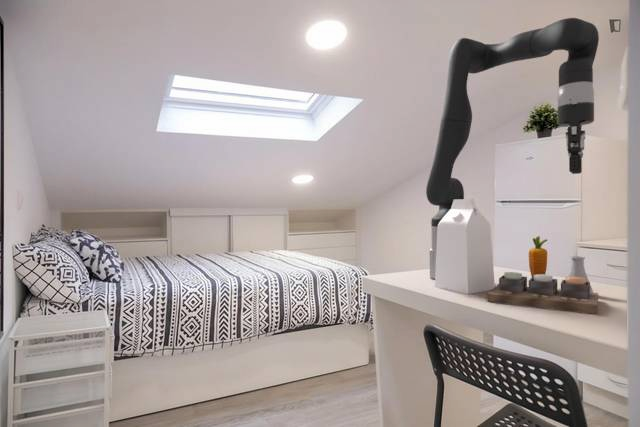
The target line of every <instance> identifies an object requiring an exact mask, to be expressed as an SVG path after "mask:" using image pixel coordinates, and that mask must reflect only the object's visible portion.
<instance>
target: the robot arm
mask: <svg viewBox="0 0 640 427" xmlns="http://www.w3.org/2000/svg"><path fill="white" fill-rule="evenodd" d="M599 37H600V36H599V32H598V28H597V26H596V25H595V24H593V23H592V22H589V21H585V20H583V19H580V18H577V17H568V18H567V17H566V18H563V19H560V20H557V21H555V22H553V23H551V24H548V25H546V26H544V27H541V28H540V27H539V28H537V29H531V30H528V31H525V32H520V33H518V34H516V35H514V36H512V37H510V38H509V39H507V40H506V41H504V42H501V43H493V44H492V43H491V44H490V43H489V44H487V43H483V42H481V41H477V40H474V39H471V38H468V37H462V38H459V39H457V40H456V42H454V44H453V45H452V48H451V50H450V53H449V58H448V64H447V65H448V68H447V80H446V90H445V95H444V96H445V97H444V104H443V109H442V114H441V119H440V124H439V131H438V137H437V143H436V149H435V154H434V158H433V162H432V166H431V170H430V172H429V177H428V180H427V184H426V188H425V189H426V191H425V194H426V199H427V200H428V202H429V204H431V205H433V206H439V207H438V212H437V213H436V214H435V215H434V216H432V217H431V220H430V222H431V223H430V224H431V248H430V249H429V279H433V280H435V272H436V248H437V227H438V224H439V222H440V221H441V220H442V218H443V217H444V216H445V215H446V214H447V213H448V211H449V210H450V209H451V206H452V203H453V200H454V199H465V193H464V192H465V190H464V185H463V184H462V182H461V181H460V180H459V179H458V178H456V177H452V174H453V168H454V166H455V163H456V160H457V159H458V157H459V155H460V153H461V152H462V151H463V149H464V148H465V145H466V144H467V142H468V139H469V137H470V132H471V129H472V123H473V111H472V107H471V101H470V99H469V94H468V86H467V85H468V80H469V79H468V77H469V74H472V75H473V74H479V73H482V72H485V71H488V70H490V69H493V68H496V67H499V66H502V65H506V64H509V63H514V62H518V61H525V60H531V59H538V58H542V57H543V58H544V57H547V56H549V55H550V54H552V53H553V52H555V51H561V50H562V51H563V50H564V51H566V52H568V54H567V55H568V56H567V60H566V61H564V62H562V63H561V64H560V66H559V69H558V93H557V125H558V126H559V127H565V128H566V127H567V129H566V132H565V140H566V142H565V144H566V149H567V155H568V156H569V157H568V158H569V159H568V162H569V164H568V166H569V168H568V171H569V172H570V173H571V174H573V175H578V174H579V175H580V174H581V173H582V170H583V168H582V162H583V160H582V159H583V158H584V152H583V151H584V150H585V139H586V130H582V127H583V126H585V125H590V124H592V123H594V121H595V92H594V91H595V90H594V80H593V79H594V74H593V73H594V69H593V65H594V61H595V58H596V54H597V50H598V46H599V40H600V39H599Z"/></svg>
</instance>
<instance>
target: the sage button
mask: <svg viewBox="0 0 640 427" xmlns="http://www.w3.org/2000/svg"><path fill="white" fill-rule="evenodd" d="M503 275H504V279H515V280H522V277H523V273H521V272H516V271H511V272H510V271H507V272H504V274H503Z"/></svg>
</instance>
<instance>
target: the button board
mask: <svg viewBox="0 0 640 427" xmlns="http://www.w3.org/2000/svg"><path fill="white" fill-rule="evenodd" d="M590 285H591V282H590V281H589V282H587V281H586V285H576V284H566V279H562V280H561V283H560V288H559V289H558V279H557V278H553V283H552V282H540V281H534V277H532V276H531V278H530V279H529V280H528V277H527V276H522V280H515V279H504V274H503V275H502V276H501V277H499V278H498V284H497V285H496V286H495V288H494V289H492V290H489V292H488V293H486V295H487V296H486V301H487V302H490V303H498V304H505V305H516V306H525V307H534V308H543V309H550V310H560V311H568V312H577V313H586V314H594V315H598V311H599V308H598V307H599V293H598V292H594V291H593V292H594V293H593V292H590Z"/></svg>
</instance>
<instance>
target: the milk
mask: <svg viewBox="0 0 640 427" xmlns="http://www.w3.org/2000/svg"><path fill="white" fill-rule="evenodd" d="M492 242H493V241H492V229H491V225H490V222H489V221H488V220H487V218H486V217H485V216H484V215H483V214H482V213H481V211H479V209H478V208H477V206H476V203H475V200H474V198H464V199H454V200H453V203H452V206H451V209H450V210H449V211H448V213H447V214H446V215H445V216H444V217H443V218H442V220H441V221H440V222H439V224H438V227H437V248H436V272H435V279H434V287H435V288H438V289H443V290H448V291H452V292H456V293H461V294H465V295H470V294H474V293H481V292H487V291H491V290H492V289H494V288H495V287H496V286H495V274H494V273H495V272H494V256H493V244H492Z"/></svg>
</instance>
